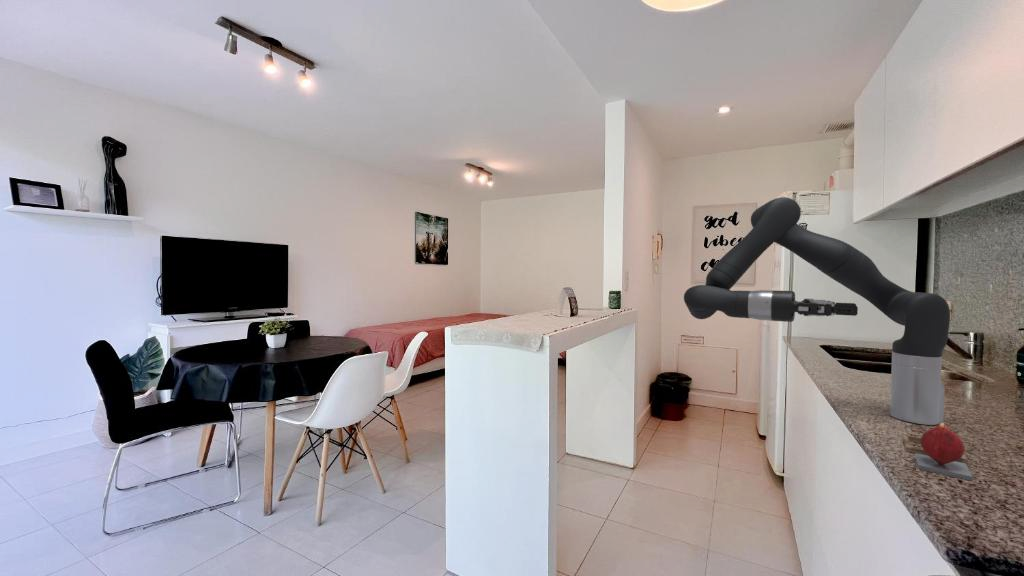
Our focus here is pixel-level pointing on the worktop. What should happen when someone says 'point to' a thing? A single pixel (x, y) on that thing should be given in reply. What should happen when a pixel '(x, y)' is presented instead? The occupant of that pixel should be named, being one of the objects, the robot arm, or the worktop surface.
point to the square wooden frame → (921, 451)
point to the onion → (942, 444)
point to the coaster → (943, 467)
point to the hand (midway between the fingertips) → (856, 309)
